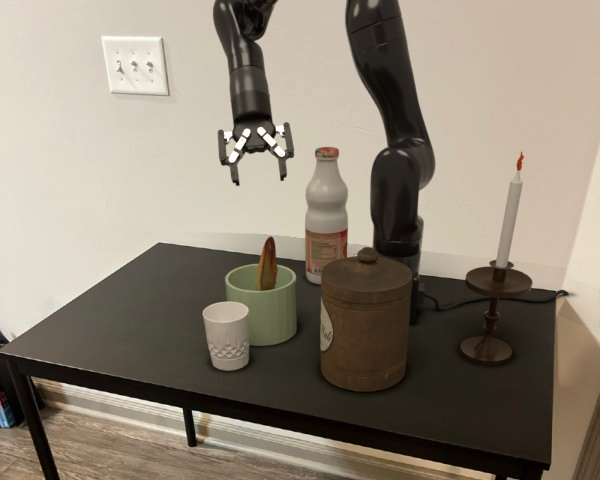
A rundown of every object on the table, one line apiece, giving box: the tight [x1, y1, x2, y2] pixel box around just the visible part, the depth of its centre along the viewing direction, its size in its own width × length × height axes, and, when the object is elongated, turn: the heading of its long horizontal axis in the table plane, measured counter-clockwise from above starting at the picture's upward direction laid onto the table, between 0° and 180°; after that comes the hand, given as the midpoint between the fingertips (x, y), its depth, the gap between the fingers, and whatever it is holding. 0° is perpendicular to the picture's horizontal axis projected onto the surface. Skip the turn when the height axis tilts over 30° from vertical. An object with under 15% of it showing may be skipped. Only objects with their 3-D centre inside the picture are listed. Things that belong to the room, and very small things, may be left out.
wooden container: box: [319, 246, 412, 393], centre depth 100 cm, size 15×15×22 cm
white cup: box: [202, 301, 250, 372], centre depth 107 cm, size 8×8×10 cm
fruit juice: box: [304, 146, 349, 286], centre depth 131 cm, size 9×9×28 cm
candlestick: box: [459, 150, 533, 367], centre depth 101 cm, size 11×11×35 cm
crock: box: [224, 263, 298, 347], centre depth 116 cm, size 13×13×11 cm
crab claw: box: [254, 236, 278, 291], centre depth 111 cm, size 7×5×20 cm
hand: (260, 181), depth 115 cm, fingers open, 8 cm apart
